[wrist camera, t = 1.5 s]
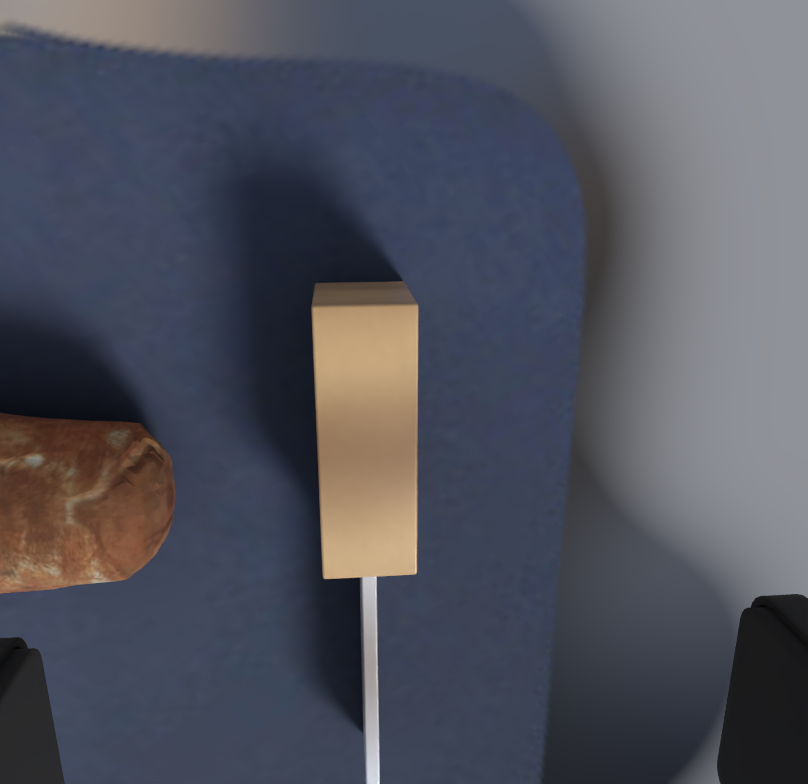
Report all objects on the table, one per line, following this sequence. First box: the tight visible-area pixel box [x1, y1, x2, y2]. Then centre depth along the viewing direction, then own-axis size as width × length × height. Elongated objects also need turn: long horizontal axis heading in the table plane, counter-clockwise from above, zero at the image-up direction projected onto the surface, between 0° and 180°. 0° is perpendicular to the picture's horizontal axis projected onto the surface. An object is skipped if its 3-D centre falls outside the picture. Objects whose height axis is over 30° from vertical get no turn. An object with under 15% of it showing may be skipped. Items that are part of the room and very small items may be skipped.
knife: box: [311, 281, 418, 784], centre depth 20 cm, size 15×2×3 cm, turn 0°
